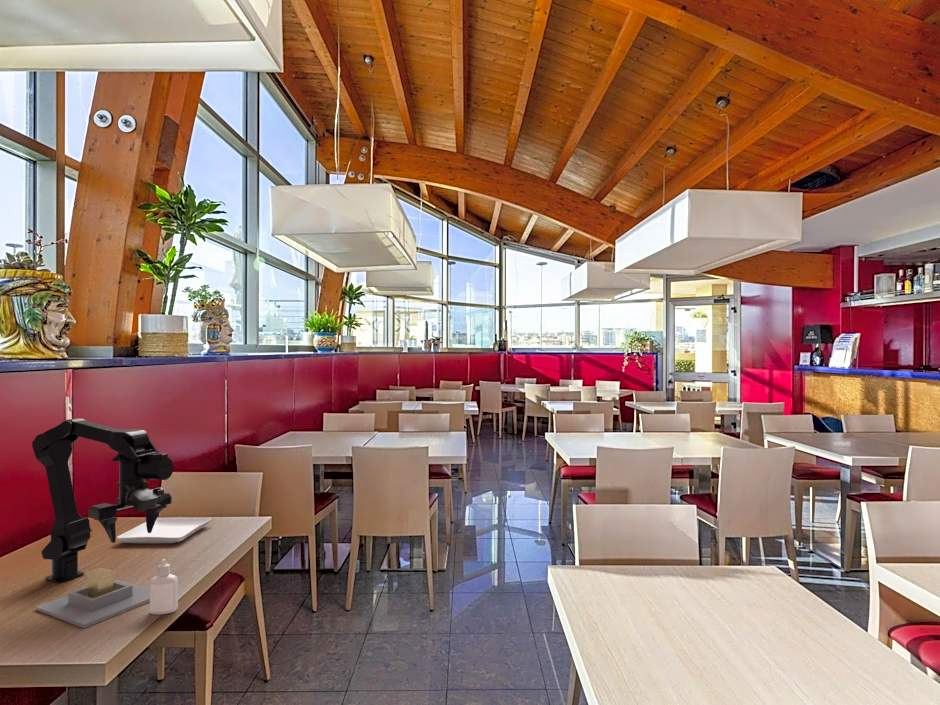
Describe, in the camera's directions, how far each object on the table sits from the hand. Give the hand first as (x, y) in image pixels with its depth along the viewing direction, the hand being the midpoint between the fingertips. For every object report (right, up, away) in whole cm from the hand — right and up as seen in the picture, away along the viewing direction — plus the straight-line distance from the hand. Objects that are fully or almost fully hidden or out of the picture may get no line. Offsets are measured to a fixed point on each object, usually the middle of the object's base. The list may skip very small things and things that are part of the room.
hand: (131, 537), depth 145 cm
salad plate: (-12, -13, +39) cm, 43 cm away
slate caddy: (0, -12, -13) cm, 17 cm away
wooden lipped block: (0, -11, -13) cm, 17 cm away
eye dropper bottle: (+18, -12, -17) cm, 28 cm away
